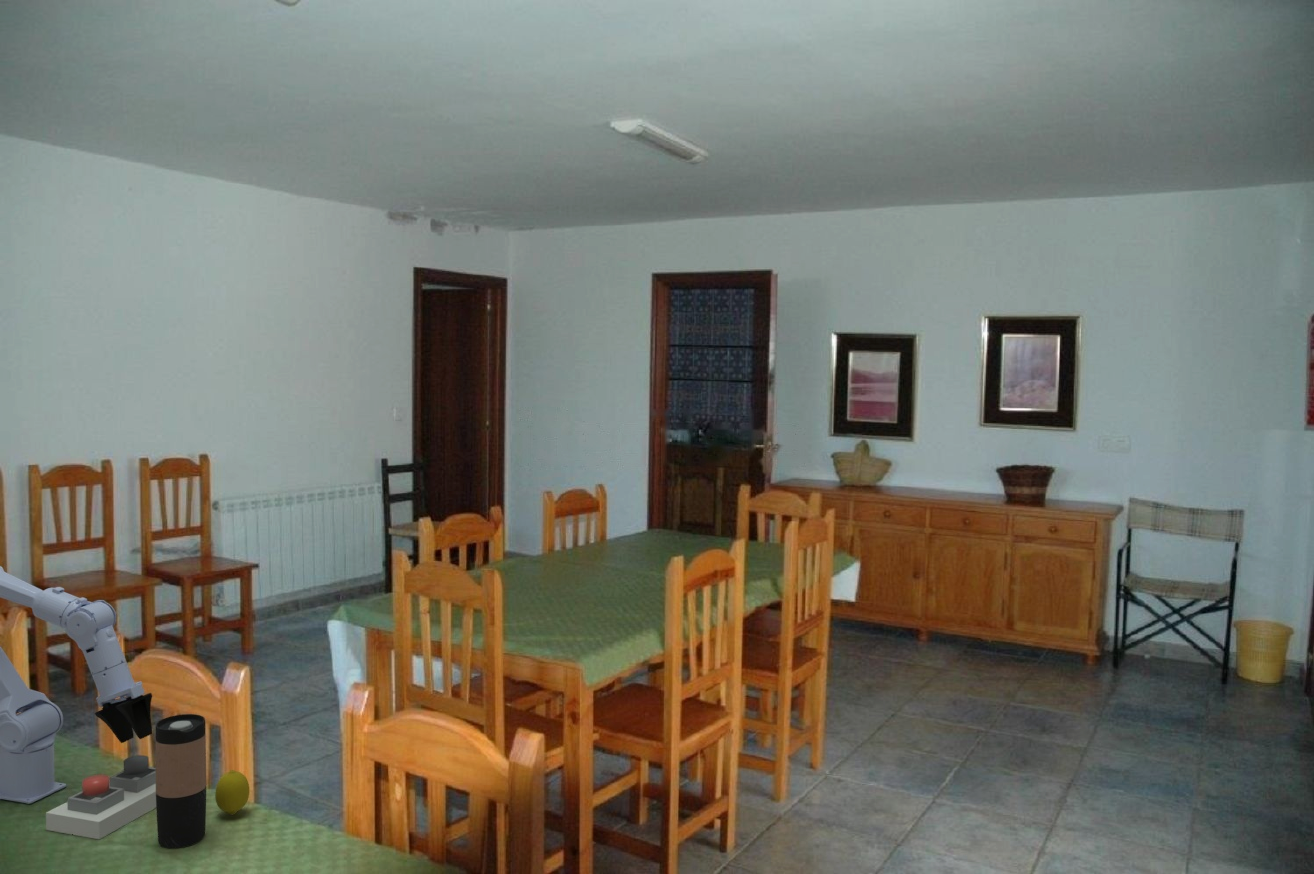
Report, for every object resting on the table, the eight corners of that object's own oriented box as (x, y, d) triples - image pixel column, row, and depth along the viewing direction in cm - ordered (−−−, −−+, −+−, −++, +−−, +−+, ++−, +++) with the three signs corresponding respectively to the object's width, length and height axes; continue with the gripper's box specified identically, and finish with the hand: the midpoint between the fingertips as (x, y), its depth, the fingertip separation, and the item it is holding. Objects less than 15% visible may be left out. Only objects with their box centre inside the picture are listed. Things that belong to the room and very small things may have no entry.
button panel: (46, 829, 168) (45, 801, 167) (132, 784, 186) (132, 758, 186) (99, 839, 165) (98, 810, 165) (182, 792, 183) (181, 766, 183)
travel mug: (171, 826, 170) (169, 712, 168) (215, 828, 170) (214, 714, 168) (146, 848, 162) (145, 729, 161) (193, 850, 162) (191, 730, 161)
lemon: (254, 807, 178) (253, 764, 177) (242, 821, 172) (242, 776, 172) (222, 807, 178) (222, 763, 177) (210, 821, 172) (209, 776, 172)
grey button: (118, 773, 178) (118, 762, 178) (135, 764, 182) (135, 754, 182) (136, 776, 177) (136, 765, 177) (153, 767, 181) (153, 756, 181)
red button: (76, 793, 169) (76, 782, 169) (95, 784, 173) (95, 773, 173) (96, 796, 168) (95, 785, 168) (114, 787, 172) (114, 776, 172)
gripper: (148, 653, 177) (176, 724, 177) (114, 664, 185) (140, 732, 186) (109, 669, 171) (137, 742, 171) (75, 680, 180) (102, 749, 180)
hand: (136, 738), depth 178 cm, fingers open, 7 cm apart
